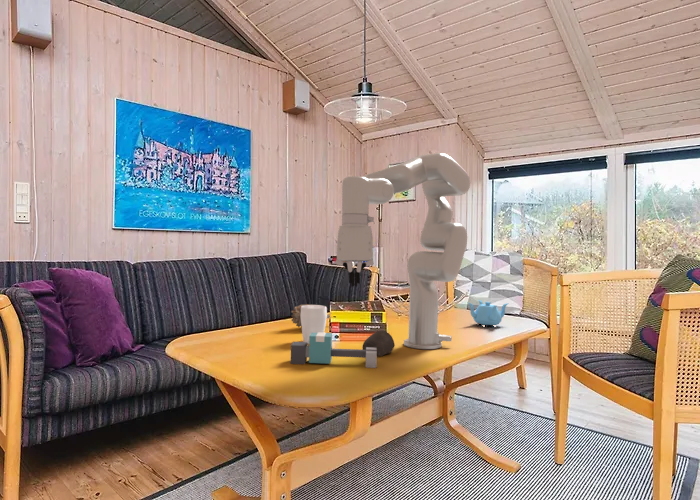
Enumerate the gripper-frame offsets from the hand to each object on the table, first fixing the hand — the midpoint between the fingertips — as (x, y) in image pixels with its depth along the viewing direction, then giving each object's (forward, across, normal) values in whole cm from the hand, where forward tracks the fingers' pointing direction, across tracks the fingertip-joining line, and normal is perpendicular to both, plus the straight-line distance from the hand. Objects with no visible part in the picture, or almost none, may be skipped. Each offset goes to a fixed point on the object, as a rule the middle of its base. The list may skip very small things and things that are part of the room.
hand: (354, 285), depth 133 cm
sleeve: (+22, +9, +1) cm, 24 cm away
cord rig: (+22, +6, +1) cm, 23 cm away
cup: (+22, +14, -25) cm, 37 cm away
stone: (+23, -7, -13) cm, 27 cm away
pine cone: (+23, +16, -49) cm, 57 cm away
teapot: (+24, -54, -66) cm, 89 cm away
